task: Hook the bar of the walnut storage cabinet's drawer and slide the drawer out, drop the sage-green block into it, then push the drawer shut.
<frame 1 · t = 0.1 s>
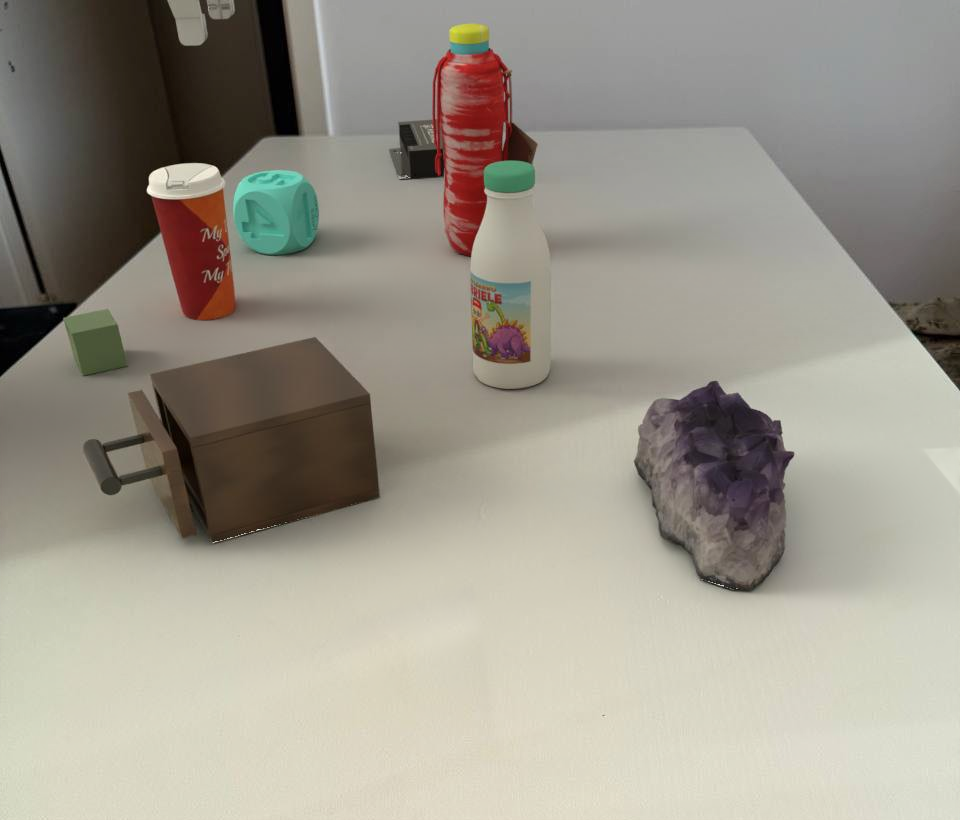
hand: (209, 30, 85), 33 cm above the table, tool pointing down, fingers open, 8 cm apart
block: (100, 362, 119), on the table
decorative dice: (281, 245, 145), on the table
dark grey box: (441, 165, 170), on the table
drawer: (206, 451, 93), point 5 cm above the table, slide at 1.0 cm
cabinet: (274, 485, 98), on the table
geode: (718, 521, 92), on the table
water bottle: (487, 249, 142), on the table
milk bottle: (511, 375, 114), on the table
coffee cup: (209, 310, 129), on the table
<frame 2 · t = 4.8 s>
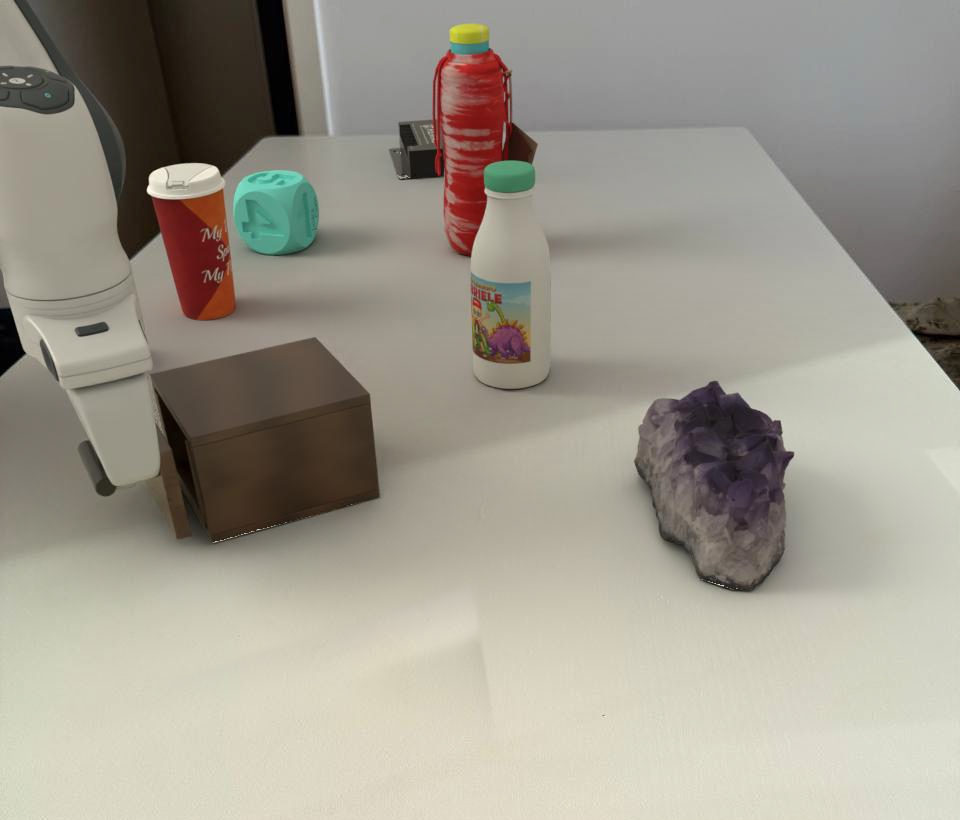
hand: (122, 480, 91), 4 cm above the table, tool pointing down, fingers closed
drawer: (201, 452, 93), point 5 cm above the table, slide at 1.4 cm
everything else where it was.
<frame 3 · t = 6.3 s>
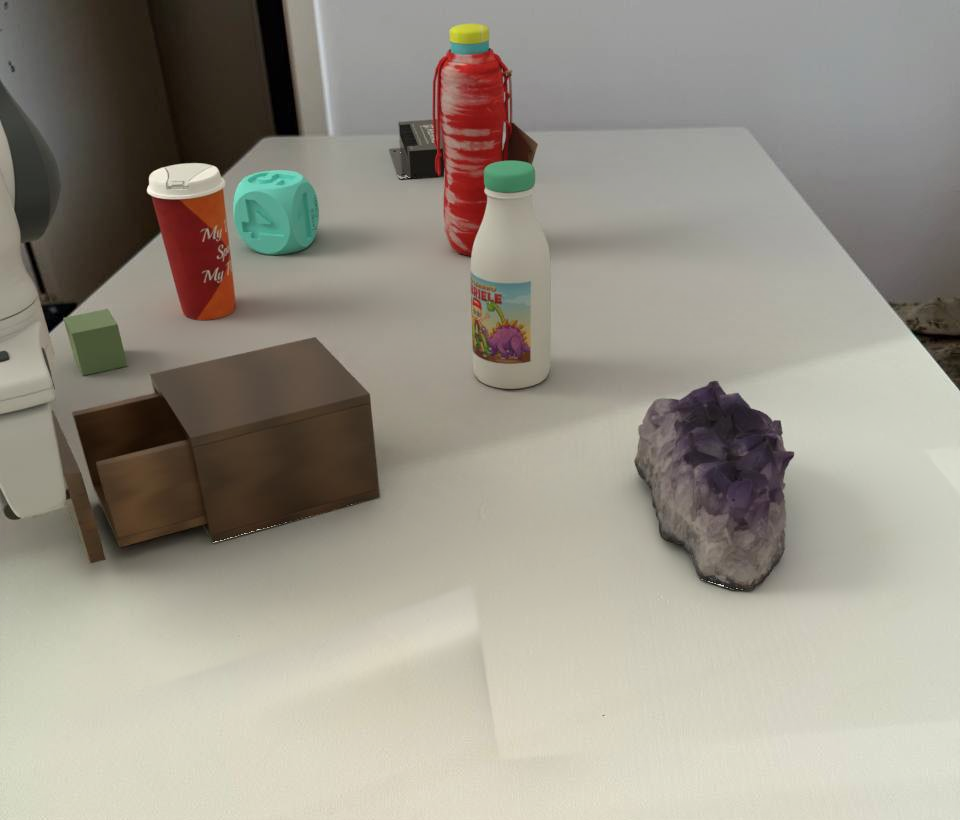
hand: (37, 508, 89), 4 cm above the table, tool pointing down, fingers closed
drawer: (118, 473, 91), point 5 cm above the table, slide at 8.2 cm, touching gripper
everything else where it was.
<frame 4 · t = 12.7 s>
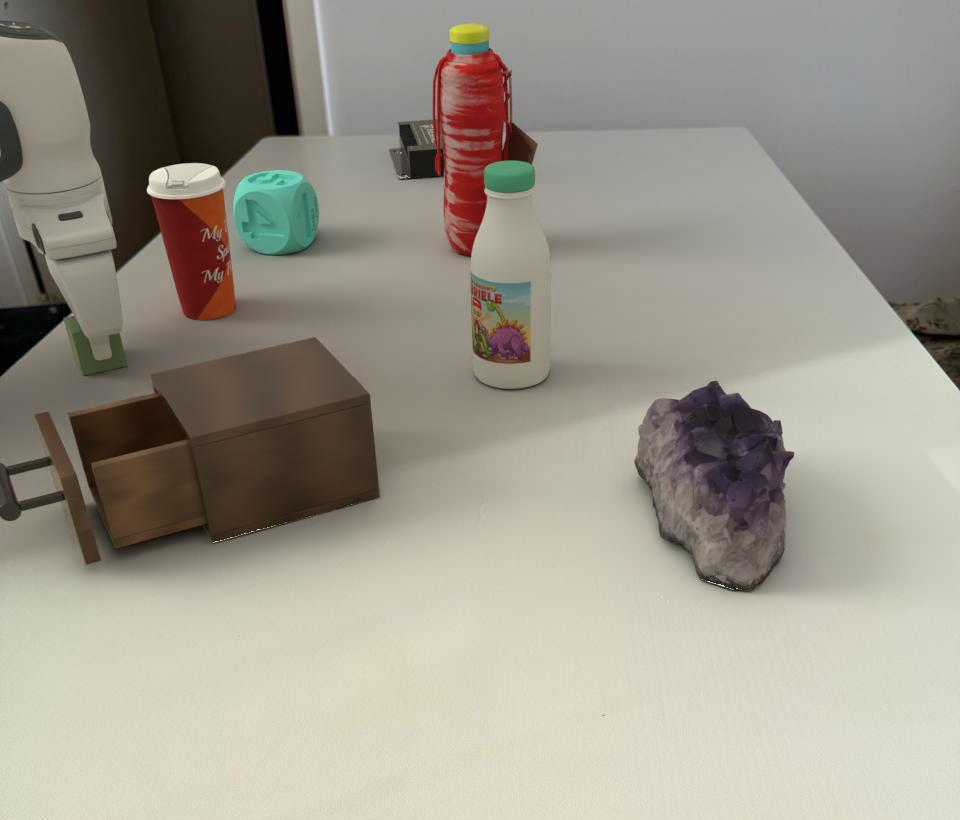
hand: (96, 346, 117), 2 cm above the table, tool pointing down, fingers closed on block, 4 cm apart
block: (100, 362, 119), on the table, touching gripper
drawer: (114, 474, 91), point 5 cm above the table, slide at 8.6 cm
everything else where it was.
when the fingers open (10 cm above the table, at t = 18.8 s): block drops 6 cm, resting on drawer.
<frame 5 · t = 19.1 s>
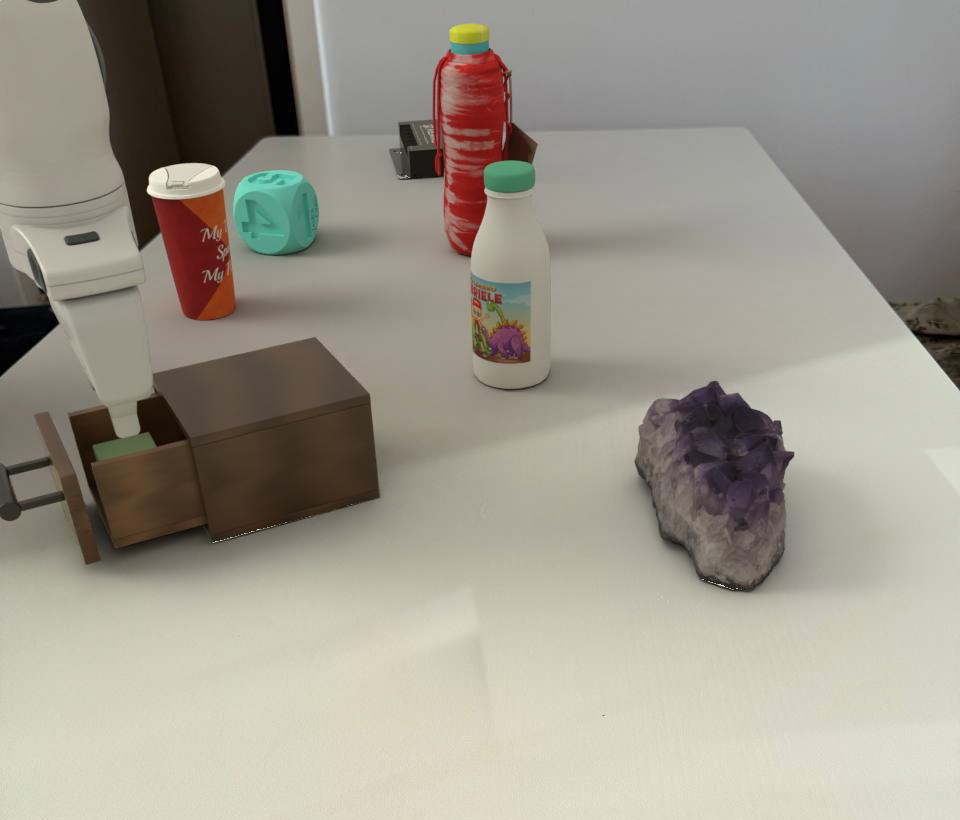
hand: (114, 409, 88), 10 cm above the table, tool pointing down, fingers open, 7 cm apart
block: (139, 500, 93), point 2 cm above the table, touching drawer
drawer: (114, 474, 91), point 5 cm above the table, slide at 8.6 cm, touching block
everything else where it was.
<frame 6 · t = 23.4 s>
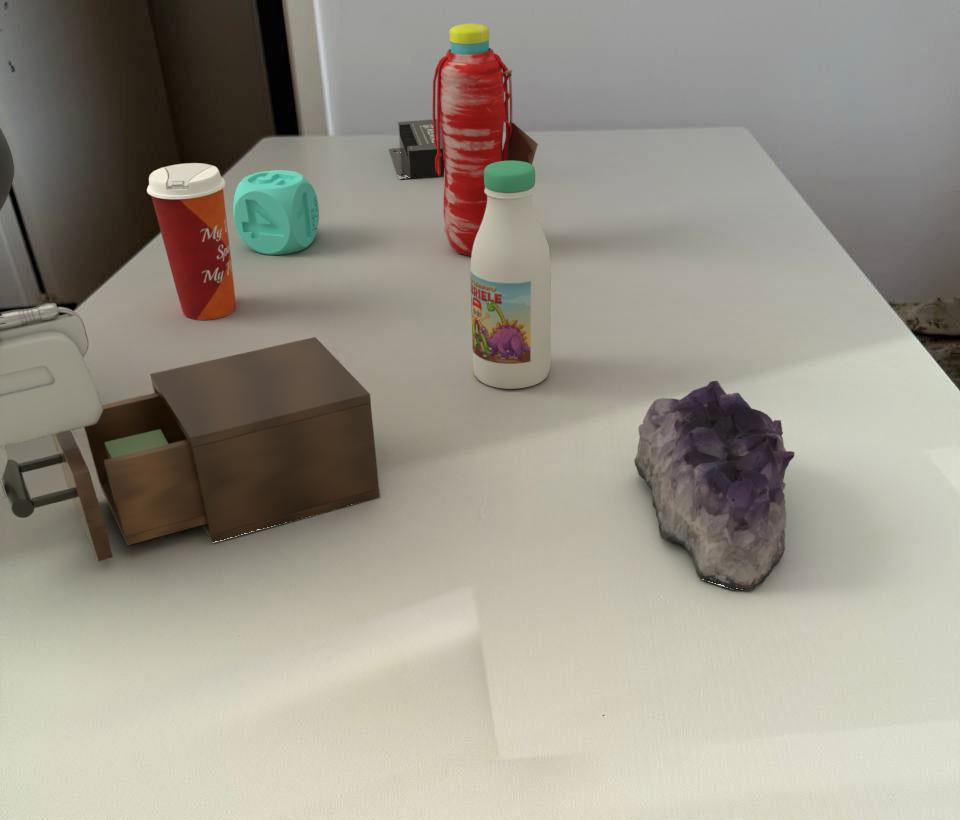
drawer: (126, 471, 91), point 5 cm above the table, slide at 7.6 cm, touching block
everything else where it was.
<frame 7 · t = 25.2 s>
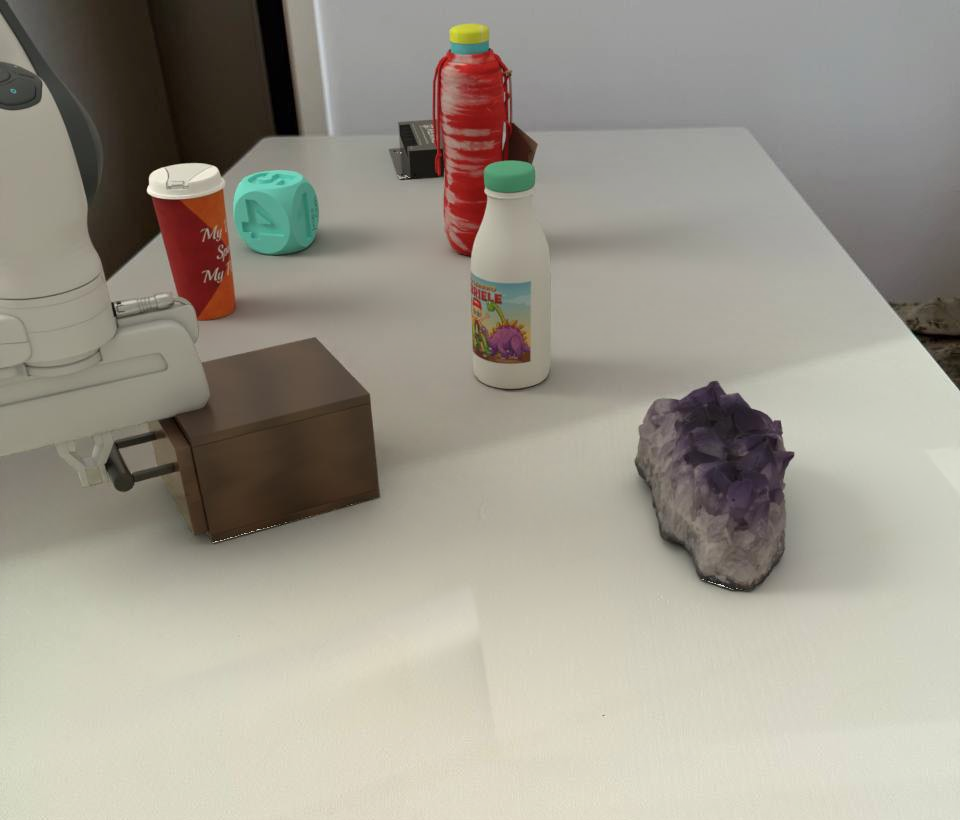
hand: (95, 481, 90), 5 cm above the table, tool pointing down, fingers closed
block: (240, 473, 96), point 2 cm above the table, touching drawer
drawer: (218, 448, 94), point 5 cm above the table, slide at 0.0 cm, touching block, cabinet, gripper
everything else where it was.
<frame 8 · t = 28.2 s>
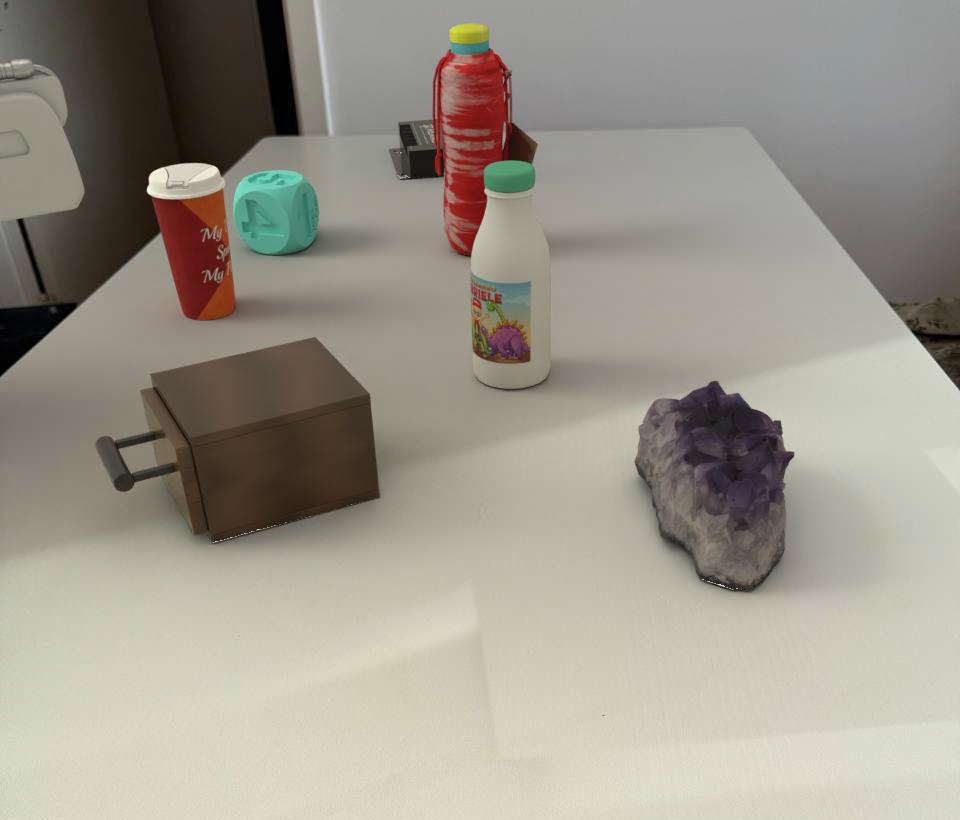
drawer: (218, 448, 94), point 5 cm above the table, slide at 0.0 cm, touching block
everything else where it was.
at the end: drawer pulled out 8.6 cm at the most during the clip, back to where it started at the end; block inside the target area in the cabinet (2.7 cm from its centre), point 2.0 cm above the cabinet's base; drawer slide at 0.0 cm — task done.
